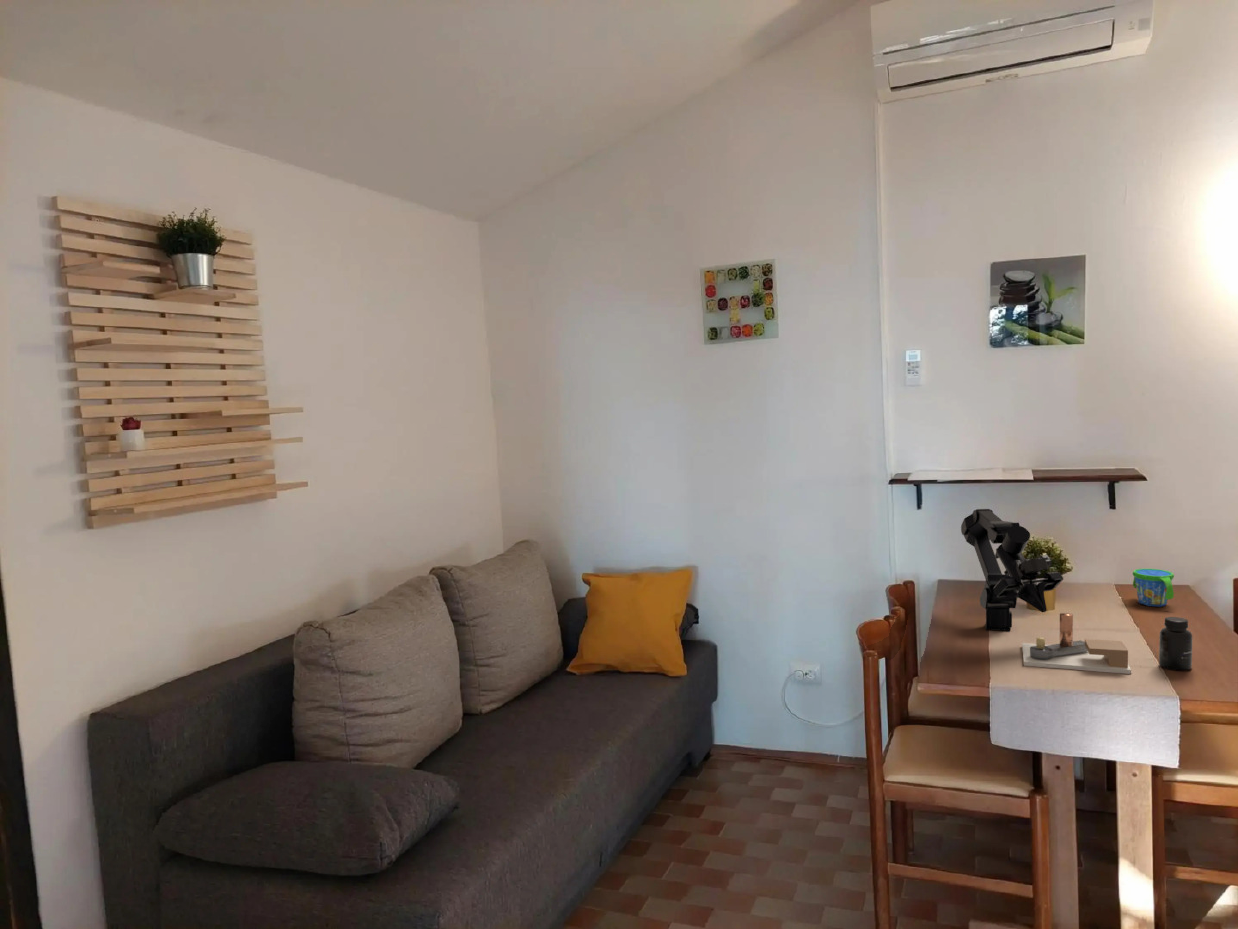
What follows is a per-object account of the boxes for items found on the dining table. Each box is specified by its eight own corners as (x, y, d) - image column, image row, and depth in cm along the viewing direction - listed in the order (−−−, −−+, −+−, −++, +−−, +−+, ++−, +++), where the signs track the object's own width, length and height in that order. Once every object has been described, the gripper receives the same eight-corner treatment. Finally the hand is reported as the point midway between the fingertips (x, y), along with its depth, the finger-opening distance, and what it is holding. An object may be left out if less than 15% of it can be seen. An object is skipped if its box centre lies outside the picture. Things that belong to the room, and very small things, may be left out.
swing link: (1040, 660, 220) (1040, 621, 219) (1025, 655, 224) (1025, 616, 224) (1092, 652, 224) (1092, 614, 223) (1077, 646, 229) (1077, 609, 228)
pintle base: (1024, 665, 220) (1023, 642, 220) (1022, 646, 235) (1022, 624, 235) (1131, 674, 211) (1131, 649, 210) (1122, 653, 226) (1122, 631, 226)
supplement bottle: (1192, 673, 210) (1193, 624, 209) (1158, 669, 214) (1159, 621, 212) (1191, 664, 216) (1192, 617, 215) (1159, 661, 219) (1159, 614, 218)
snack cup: (1185, 610, 263) (1185, 577, 262) (1149, 611, 263) (1149, 578, 262) (1156, 597, 278) (1156, 566, 277) (1122, 598, 279) (1122, 567, 278)
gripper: (1000, 548, 231) (1031, 598, 221) (1058, 542, 236) (1090, 591, 227) (980, 572, 239) (1009, 621, 230) (1036, 565, 244) (1067, 613, 235)
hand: (1044, 611), depth 230 cm, fingers closed
